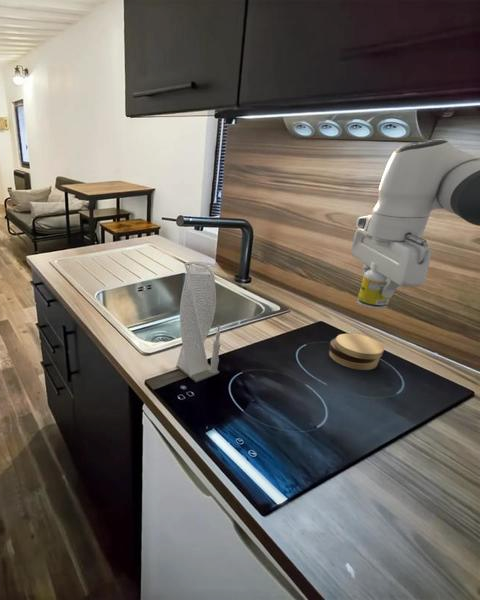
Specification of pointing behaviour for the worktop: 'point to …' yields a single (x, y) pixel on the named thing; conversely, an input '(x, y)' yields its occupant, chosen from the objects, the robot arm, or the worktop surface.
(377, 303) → the supplement bottle
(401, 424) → the worktop surface
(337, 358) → the coaster pile
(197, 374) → the skyscraper
